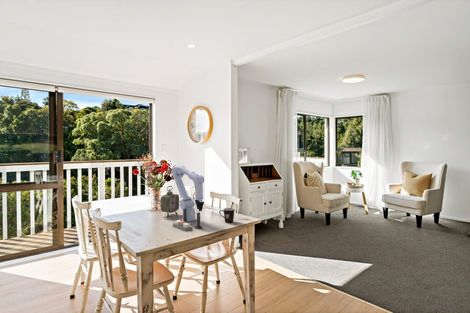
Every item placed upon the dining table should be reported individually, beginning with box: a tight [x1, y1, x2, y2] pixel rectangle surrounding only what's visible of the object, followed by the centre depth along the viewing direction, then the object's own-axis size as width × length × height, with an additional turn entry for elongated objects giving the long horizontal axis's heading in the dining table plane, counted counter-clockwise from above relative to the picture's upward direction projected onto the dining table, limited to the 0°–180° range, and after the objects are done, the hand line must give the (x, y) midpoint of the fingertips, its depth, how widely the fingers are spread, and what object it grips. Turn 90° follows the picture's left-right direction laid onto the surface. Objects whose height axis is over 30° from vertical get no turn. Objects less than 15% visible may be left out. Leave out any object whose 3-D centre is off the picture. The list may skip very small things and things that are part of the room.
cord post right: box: [194, 211, 203, 230], centre depth 201 cm, size 5×5×11 cm
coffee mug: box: [218, 207, 235, 224], centre depth 217 cm, size 12×9×10 cm
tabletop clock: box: [159, 185, 180, 218], centre depth 236 cm, size 14×9×25 cm, turn 153°
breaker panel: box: [172, 219, 193, 232], centre depth 202 cm, size 6×16×4 cm, turn 44°
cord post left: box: [182, 209, 189, 223], centre depth 213 cm, size 5×5×11 cm
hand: (199, 210), depth 211 cm, fingers open, 7 cm apart
